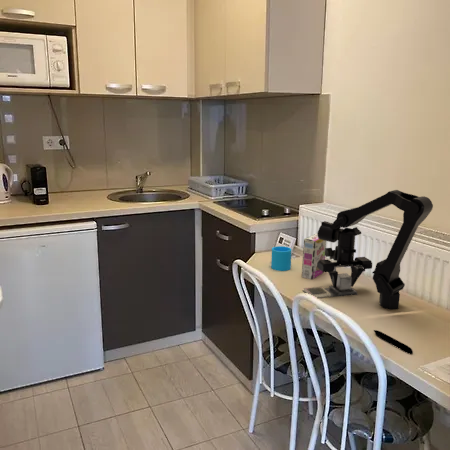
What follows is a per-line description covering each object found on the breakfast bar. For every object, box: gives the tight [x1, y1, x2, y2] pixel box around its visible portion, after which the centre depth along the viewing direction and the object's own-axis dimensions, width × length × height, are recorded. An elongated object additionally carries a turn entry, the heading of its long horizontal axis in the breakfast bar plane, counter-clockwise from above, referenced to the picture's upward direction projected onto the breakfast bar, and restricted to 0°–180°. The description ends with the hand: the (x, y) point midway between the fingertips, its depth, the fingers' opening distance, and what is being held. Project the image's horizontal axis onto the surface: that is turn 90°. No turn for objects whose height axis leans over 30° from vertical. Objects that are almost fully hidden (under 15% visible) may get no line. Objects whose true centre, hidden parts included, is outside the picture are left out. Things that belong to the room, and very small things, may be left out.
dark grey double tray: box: [301, 285, 359, 299], centre depth 165 cm, size 8×18×2 cm, turn 103°
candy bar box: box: [301, 233, 327, 280], centre depth 182 cm, size 11×5×16 cm, turn 145°
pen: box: [373, 329, 414, 355], centre depth 131 cm, size 2×14×2 cm, turn 29°
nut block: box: [335, 272, 352, 292], centre depth 166 cm, size 4×4×6 cm
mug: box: [270, 245, 292, 272], centre depth 195 cm, size 12×8×8 cm
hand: (343, 287), depth 166 cm, fingers open, 6 cm apart
